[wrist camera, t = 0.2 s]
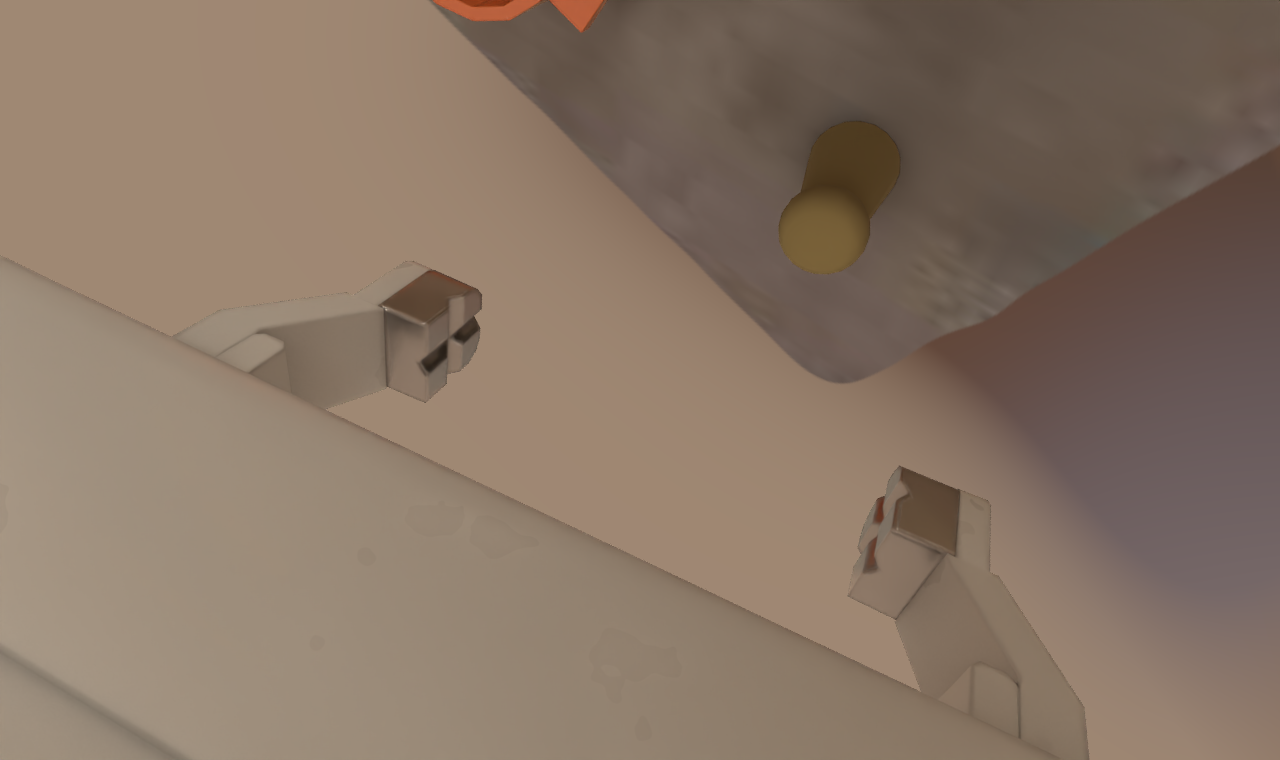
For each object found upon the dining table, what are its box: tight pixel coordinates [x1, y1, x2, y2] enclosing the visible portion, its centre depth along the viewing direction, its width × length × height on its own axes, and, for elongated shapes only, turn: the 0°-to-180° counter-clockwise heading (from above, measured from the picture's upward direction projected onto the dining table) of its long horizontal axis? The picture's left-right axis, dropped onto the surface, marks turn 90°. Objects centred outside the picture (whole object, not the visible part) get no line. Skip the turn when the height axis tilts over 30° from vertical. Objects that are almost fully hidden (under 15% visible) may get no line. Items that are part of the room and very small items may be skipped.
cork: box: [778, 121, 900, 274], centre depth 45 cm, size 6×6×11 cm
